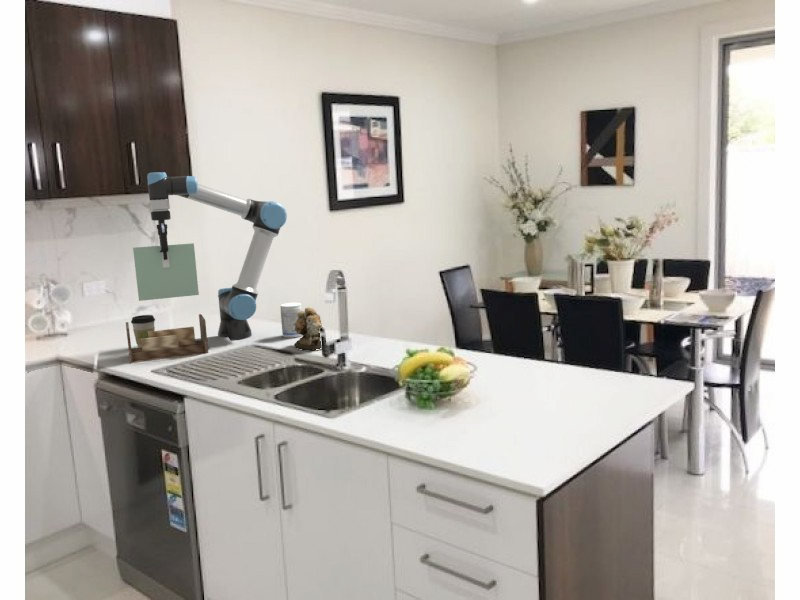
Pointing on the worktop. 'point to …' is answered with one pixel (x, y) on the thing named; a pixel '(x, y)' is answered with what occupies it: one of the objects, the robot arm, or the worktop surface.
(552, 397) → the worktop surface
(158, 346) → the offcut birch
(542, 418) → the worktop surface
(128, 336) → the rack
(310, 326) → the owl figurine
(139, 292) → the sheet
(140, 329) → the coffee cup
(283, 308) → the supplement tub
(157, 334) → the offcut oak
